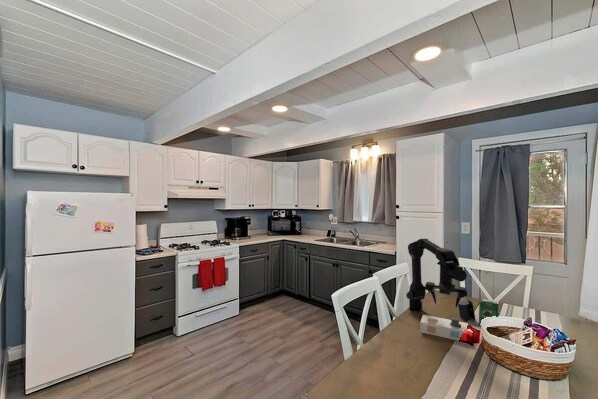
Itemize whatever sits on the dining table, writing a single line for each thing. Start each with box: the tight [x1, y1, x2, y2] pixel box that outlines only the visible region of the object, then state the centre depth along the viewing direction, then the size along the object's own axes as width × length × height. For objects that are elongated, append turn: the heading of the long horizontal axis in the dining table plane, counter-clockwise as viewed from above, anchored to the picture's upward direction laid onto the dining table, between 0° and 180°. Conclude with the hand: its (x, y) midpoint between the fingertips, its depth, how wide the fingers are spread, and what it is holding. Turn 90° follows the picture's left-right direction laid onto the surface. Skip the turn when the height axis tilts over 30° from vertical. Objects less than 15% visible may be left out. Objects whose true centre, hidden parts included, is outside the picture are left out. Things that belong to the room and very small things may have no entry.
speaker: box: [457, 298, 477, 322], centre depth 154 cm, size 8×6×10 cm
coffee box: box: [478, 299, 499, 325], centre depth 143 cm, size 8×3×13 cm, turn 70°
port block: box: [419, 314, 469, 342], centre depth 137 cm, size 20×10×5 cm, turn 58°
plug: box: [450, 316, 460, 327], centre depth 135 cm, size 3×3×8 cm
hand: (445, 305), depth 142 cm, fingers open, 9 cm apart
